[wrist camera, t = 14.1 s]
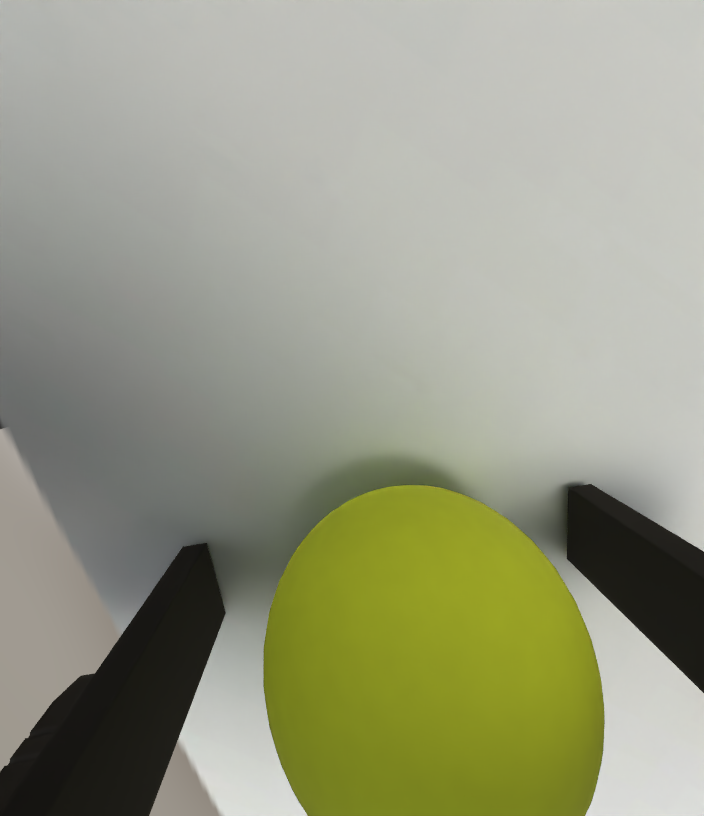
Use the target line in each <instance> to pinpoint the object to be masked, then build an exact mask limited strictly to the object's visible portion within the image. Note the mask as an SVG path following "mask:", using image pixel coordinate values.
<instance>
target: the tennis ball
mask: <svg viewBox="0 0 704 816" xmlns="http://www.w3.org/2000/svg"><path fill="white" fill-rule="evenodd" d="M264 693H265V701H266V708H267V714H268V720H269V726H270V730H271V733H272V737H273V740H274V744H275V747H276V751H277V754H278V757H279V759H280V762H281V765H282V768H283V770H284V772H285V774H286V776H287V779H288V781H289V783H290V785H291V788H292V790H293V792H294V794H295V795H296V797H297V799H298V801H299V802H300V804H301V806H302V807H303V809H304V810H305V812H306V813H307V815H308V816H585V814H586V812H587V810H588V808H589V806H590V804H591V801H592V798H593V795H594V792H595V788H596V784H597V780H598V775H599V771H600V766H601V761H602V754H603V743H604V702H603V693H602V685H601V678H600V673H599V668H598V664H597V660H596V656H595V652H594V648H593V645H592V641H591V638H590V635H589V633H588V630H587V628H586V625H585V623H584V620H583V618H582V616H581V613H580V611H579V609H578V606H577V604H576V602H575V600H574V598H573V597H572V595H571V593H570V592H569V590H568V588H567V586H566V585H565V583H564V582H563V580H562V578H561V577H560V575H559V573H558V572H557V570H556V568H555V567H554V566H553V565H552V564H551V562H550V561H549V560H548V559H547V557H546V556H545V555H544V554H543V552H542V551H541V550H540V549H539V548H538V547H537V545H536V544H535V543H534V542H533V541H532V540H531V539H530V538H529V537H528V536H527V535H526V534H524V533H523V532H522V531H521V530H520V529H519V528H518V527H516V526H515V525H514V524H513V523H512V522H511V521H509V520H508V519H507V518H505V517H504V516H502V515H501V514H499V513H498V512H496V511H494V510H493V509H491V508H490V507H488V506H486V505H485V504H483V503H481V502H479V501H477V500H475V499H473V498H470V497H468V496H466V495H463V494H460V493H457V492H454V491H451V490H447V489H444V488H439V487H432V486H426V485H400V486H390V487H385V488H381V489H376V490H373V491H370V492H367V493H364V494H362V495H360V496H357V497H355V498H353V499H351V500H349V501H347V502H346V503H344V504H343V505H341V506H339V507H338V508H336V509H335V510H333V511H332V512H330V513H329V514H328V515H327V516H326V517H324V518H323V519H322V520H321V521H320V522H319V523H318V524H317V525H316V526H315V527H314V528H313V529H312V530H311V531H310V532H309V533H308V535H307V536H306V537H305V538H304V540H303V541H302V542H301V544H300V545H299V546H298V548H297V549H296V551H295V552H294V554H293V555H292V557H291V559H290V561H289V563H288V565H287V567H286V569H285V571H284V573H283V575H282V577H281V579H280V581H279V584H278V587H277V590H276V593H275V596H274V599H273V602H272V605H271V608H270V612H269V617H268V623H267V629H266V636H265V643H264Z"/></svg>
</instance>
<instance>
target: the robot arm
mask: <svg viewBox="0 0 704 816" xmlns="http://www.w3.org/2000/svg"><path fill="white" fill-rule="evenodd" d="M567 559H568V560H569V561H570V562H571V563H572V564H573V565H574V566H575V567H576V568H577V569H578V570H579V571H580V572H581V573H582V574H583V575H584V576H585V577H586V578H587V579H588V580H589V581H590V582H591V583H592V584H593V585H594V586H595V587H596V588H597V589H598V590H599V591H600V592H601V593H602V594H603V595H604V596H605V597H606V598H607V599H608V600H609V601H610V602H611V603H613V604H614V605H615V606H616V607H617V608H618V609H619V610H620V611H621V612H622V613H623V614H624V615H625V616H626V617H627V618H628V619H629V620H630V621H631V622H632V623H633V624H634V625H635V626H636V627H637V628H638V629H639V630H640V631H641V632H642V633H643V634H644V635H645V636H646V637H647V638H648V639H649V640H650V641H651V642H652V643H653V644H654V645H655V646H656V647H657V648H658V649H659V650H660V651H661V652H663V653H664V654H665V655H666V656H667V657H668V658H669V659H670V660H671V661H672V662H673V663H674V664H675V665H676V666H677V667H678V668H679V669H680V670H681V671H682V672H683V673H684V674H685V675H686V676H687V677H688V678H689V679H690V680H691V681H692V682H693V683H694V684H695V685H696V686H697V687H698V688H699V689H700V690H701V691H702V692H703V693H704V552H703V551H702V550H700V549H698V548H697V547H695V546H693V545H692V544H690V543H688V542H687V541H685V540H683V539H682V538H680V537H678V536H677V535H675V534H673V533H672V532H670V531H668V530H667V529H665V528H663V527H662V526H660V525H658V524H657V523H655V522H653V521H652V520H650V519H648V518H647V517H645V516H643V515H642V514H640V513H638V512H637V511H635V510H633V509H632V508H630V507H628V506H627V505H625V504H623V503H622V502H620V501H618V500H617V499H615V498H613V497H612V496H610V495H608V494H607V493H605V492H603V491H602V490H600V489H598V488H597V487H595V486H593V485H592V484H588V485H582V486H575V487H569V488H568V534H567ZM225 613H226V612H225V608H224V605H223V601H222V597H221V594H220V590H219V586H218V583H217V579H216V575H215V572H214V568H213V564H212V561H211V557H210V553H209V550H208V546H207V543H203V544H196V545H190V546H183V547H182V549H181V550H180V551H179V553H178V554H177V556H176V557H175V559H174V560H173V562H172V563H171V564H170V566H169V567H168V569H167V570H166V572H165V573H164V575H163V576H162V577H161V579H160V580H159V582H158V583H157V585H156V586H155V588H154V589H153V591H152V592H151V593H150V595H149V596H148V598H147V599H146V601H145V602H144V604H143V605H142V606H141V608H140V609H139V611H138V612H137V614H136V615H135V617H134V618H133V619H132V621H131V622H130V624H129V625H128V627H127V628H126V630H125V631H124V632H123V634H122V635H121V637H120V638H119V640H118V641H117V643H116V644H115V645H114V647H113V648H112V650H111V651H110V653H109V654H108V656H107V657H106V659H105V660H104V661H103V663H102V664H101V666H100V667H99V669H98V670H97V672H96V673H95V674H89V675H83V676H80V677H79V678H78V679H77V680H76V681H75V682H74V683H72V684H71V685H70V686H69V687H68V688H67V689H66V690H65V691H64V692H63V693H62V694H61V695H60V696H59V697H58V698H57V699H56V700H54V701H53V702H52V704H51V705H50V706H49V708H48V709H47V710H46V712H45V713H44V715H43V716H42V717H41V718H40V720H39V721H38V722H37V724H36V725H35V727H34V728H33V729H32V730H31V732H30V736H29V738H25V740H24V741H23V742H22V744H21V745H20V746H19V748H18V749H17V750H16V752H15V753H14V754H13V756H12V757H11V758H10V763H9V764H8V765H7V766H4V768H3V769H2V770H1V772H0V816H149V814H150V812H151V809H152V806H153V804H154V801H155V798H156V796H157V793H158V790H159V788H160V785H161V782H162V780H163V777H164V775H165V772H166V769H167V767H168V764H169V761H170V759H171V756H172V754H173V751H174V748H175V746H176V743H177V740H178V738H179V735H180V732H181V730H182V727H183V724H184V722H185V719H186V717H187V714H188V711H189V709H190V706H191V703H192V701H193V698H194V695H195V693H196V690H197V687H198V685H199V682H200V680H201V677H202V674H203V672H204V669H205V666H206V664H207V661H208V658H209V656H210V653H211V650H212V648H213V645H214V642H215V640H216V637H217V635H218V632H219V629H220V627H221V624H222V621H223V619H224V616H225Z"/></svg>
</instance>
